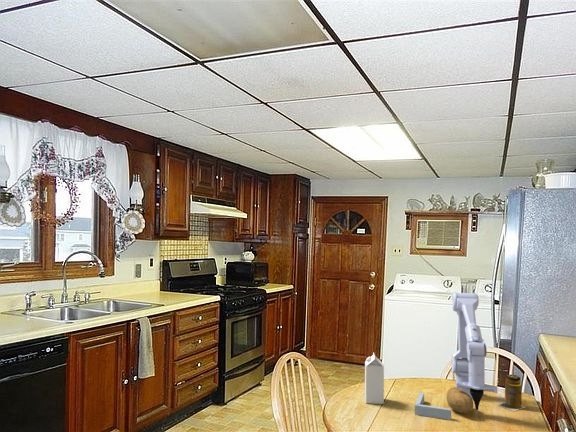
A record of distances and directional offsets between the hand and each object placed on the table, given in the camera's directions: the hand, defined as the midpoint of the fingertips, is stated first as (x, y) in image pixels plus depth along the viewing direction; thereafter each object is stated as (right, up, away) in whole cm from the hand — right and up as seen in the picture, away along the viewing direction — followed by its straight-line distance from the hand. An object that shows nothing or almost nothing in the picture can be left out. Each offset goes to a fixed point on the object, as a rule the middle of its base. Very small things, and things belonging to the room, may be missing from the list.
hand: (476, 409), depth 178 cm
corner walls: (-15, -2, +3) cm, 16 cm away
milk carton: (-37, -2, +13) cm, 39 cm away
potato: (-5, -2, +2) cm, 6 cm away
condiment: (+18, -3, +9) cm, 20 cm away
